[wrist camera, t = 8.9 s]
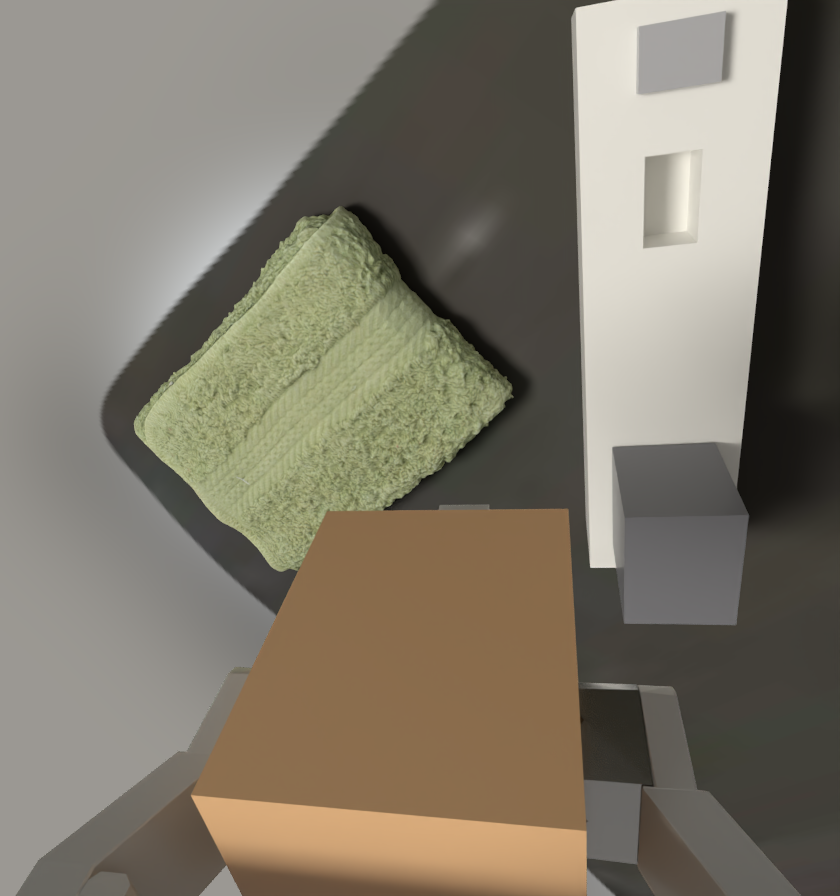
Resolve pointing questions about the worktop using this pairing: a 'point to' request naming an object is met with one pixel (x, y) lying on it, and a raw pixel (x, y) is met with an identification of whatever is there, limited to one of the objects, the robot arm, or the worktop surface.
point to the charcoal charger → (677, 534)
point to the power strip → (669, 223)
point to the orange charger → (411, 716)
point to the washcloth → (320, 393)
